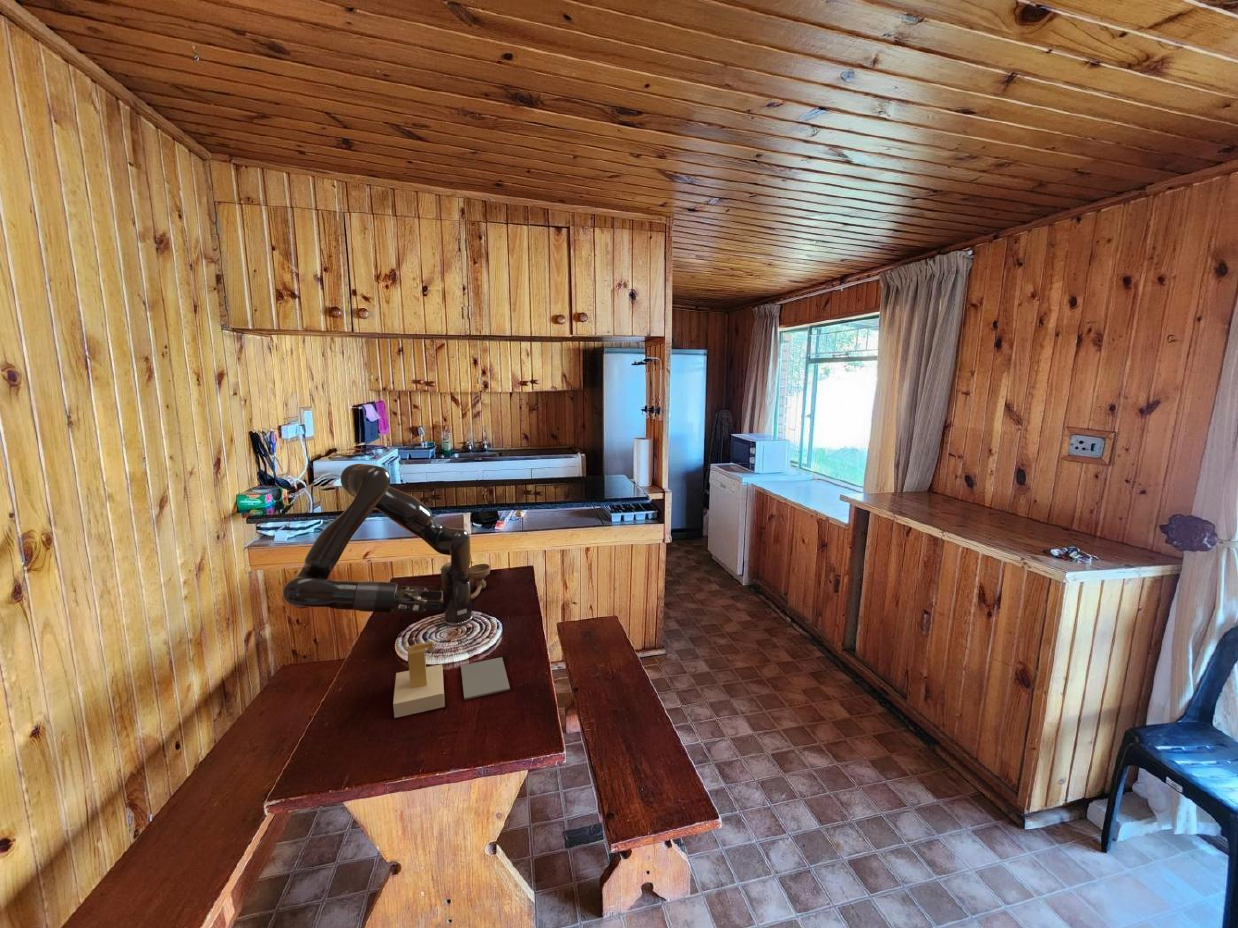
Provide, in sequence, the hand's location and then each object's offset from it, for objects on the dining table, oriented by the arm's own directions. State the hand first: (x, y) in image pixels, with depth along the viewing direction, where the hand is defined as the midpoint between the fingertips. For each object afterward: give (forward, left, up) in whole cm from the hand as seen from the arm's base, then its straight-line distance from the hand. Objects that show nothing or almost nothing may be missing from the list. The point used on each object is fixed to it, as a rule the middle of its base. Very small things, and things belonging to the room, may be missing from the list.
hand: (441, 600), depth 135 cm
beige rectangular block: (+1, -7, -26) cm, 27 cm away
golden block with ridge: (+1, -6, -22) cm, 23 cm away
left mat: (-1, +10, -26) cm, 28 cm away
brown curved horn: (-60, +9, -26) cm, 66 cm away
